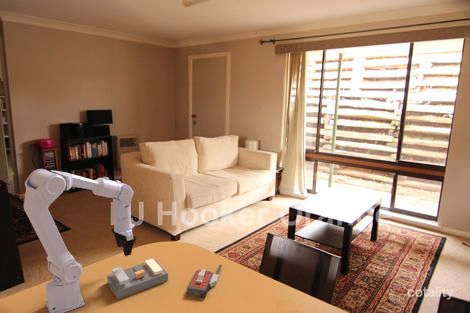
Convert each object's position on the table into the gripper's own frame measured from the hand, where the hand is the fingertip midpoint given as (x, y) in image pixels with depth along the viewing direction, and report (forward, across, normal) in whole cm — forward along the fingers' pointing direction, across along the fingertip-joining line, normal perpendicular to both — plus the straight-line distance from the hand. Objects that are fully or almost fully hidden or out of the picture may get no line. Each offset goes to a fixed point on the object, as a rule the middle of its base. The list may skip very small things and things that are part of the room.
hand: (124, 250), depth 113 cm
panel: (+9, -8, -2) cm, 12 cm away
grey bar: (+5, -8, +4) cm, 10 cm away
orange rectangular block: (+6, -10, -2) cm, 12 cm away
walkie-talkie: (+10, -21, -22) cm, 32 cm away
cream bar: (+6, -7, -8) cm, 13 cm away
